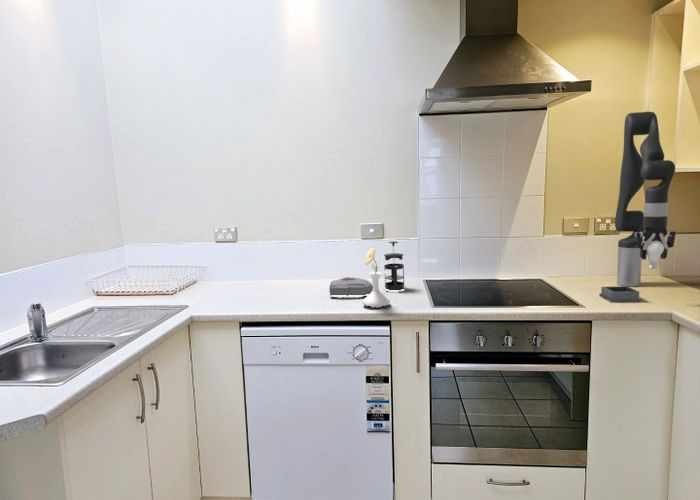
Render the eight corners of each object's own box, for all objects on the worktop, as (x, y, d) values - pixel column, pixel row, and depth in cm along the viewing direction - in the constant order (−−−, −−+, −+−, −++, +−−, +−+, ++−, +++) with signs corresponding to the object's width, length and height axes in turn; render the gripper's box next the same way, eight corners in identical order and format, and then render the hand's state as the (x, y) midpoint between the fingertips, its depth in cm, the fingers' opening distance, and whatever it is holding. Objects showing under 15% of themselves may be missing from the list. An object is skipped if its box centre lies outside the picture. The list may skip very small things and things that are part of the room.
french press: (406, 292, 215) (404, 242, 212) (385, 293, 215) (383, 243, 212) (403, 287, 227) (402, 239, 224) (383, 287, 227) (382, 240, 224)
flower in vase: (363, 302, 199) (361, 244, 196) (390, 302, 198) (388, 243, 195) (361, 311, 187) (358, 248, 183) (389, 310, 185) (387, 247, 182)
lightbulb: (666, 270, 175) (667, 240, 173) (647, 270, 176) (648, 241, 174) (658, 266, 181) (659, 238, 179) (640, 267, 182) (641, 238, 181)
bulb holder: (599, 295, 194) (599, 286, 194) (627, 295, 193) (627, 286, 192) (611, 302, 183) (611, 292, 183) (641, 302, 182) (641, 292, 182)
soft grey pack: (328, 300, 208) (373, 299, 206) (327, 281, 207) (372, 280, 205) (332, 292, 223) (374, 291, 221) (331, 275, 222) (373, 274, 220)
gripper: (670, 213, 179) (667, 256, 181) (630, 214, 180) (628, 257, 182) (682, 214, 171) (679, 260, 174) (640, 216, 173) (638, 261, 175)
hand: (653, 258), depth 178 cm, fingers closed on lightbulb, 6 cm apart
